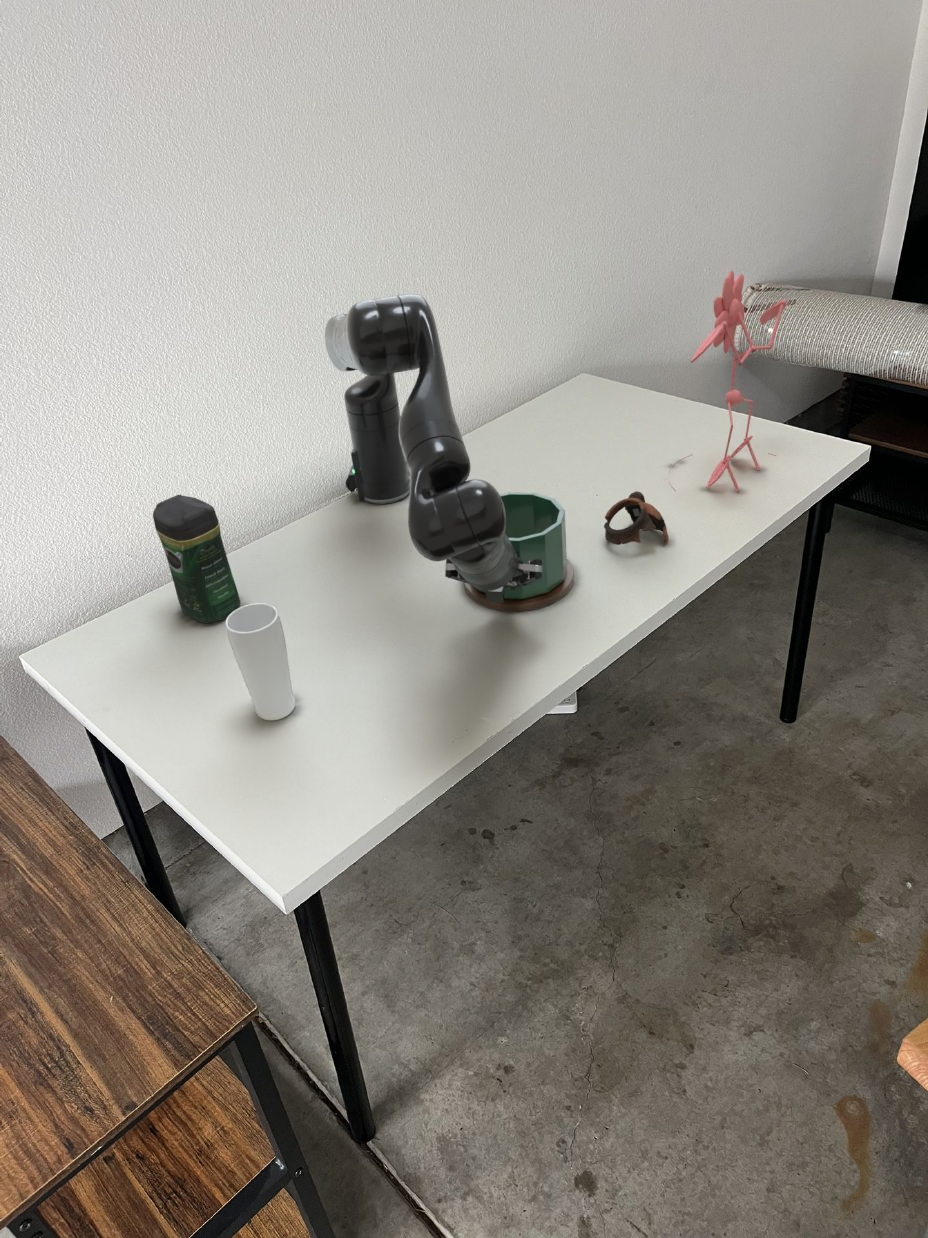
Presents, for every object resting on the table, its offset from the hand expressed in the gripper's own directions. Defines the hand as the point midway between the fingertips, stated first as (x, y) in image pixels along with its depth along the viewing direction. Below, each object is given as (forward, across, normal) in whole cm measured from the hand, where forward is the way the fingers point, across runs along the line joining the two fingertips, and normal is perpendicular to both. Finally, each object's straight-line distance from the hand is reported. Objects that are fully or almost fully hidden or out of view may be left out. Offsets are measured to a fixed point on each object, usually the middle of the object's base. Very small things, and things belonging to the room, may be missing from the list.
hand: (503, 582), depth 136 cm
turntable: (+12, 0, -3) cm, 12 cm away
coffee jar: (+5, +47, +4) cm, 47 cm away
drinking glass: (-11, +28, +20) cm, 36 cm away
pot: (+7, 0, 0) cm, 7 cm away
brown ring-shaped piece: (+21, -18, -12) cm, 30 cm away
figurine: (+38, -31, -28) cm, 56 cm away
